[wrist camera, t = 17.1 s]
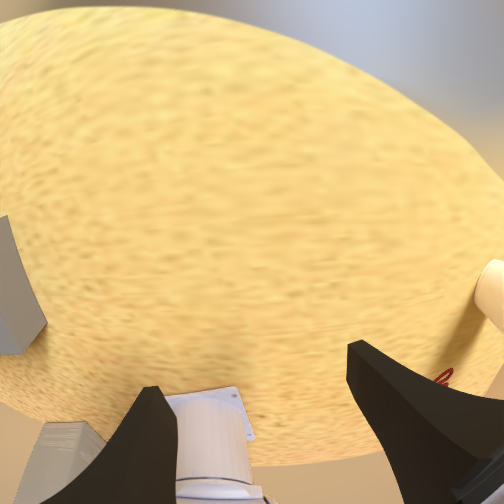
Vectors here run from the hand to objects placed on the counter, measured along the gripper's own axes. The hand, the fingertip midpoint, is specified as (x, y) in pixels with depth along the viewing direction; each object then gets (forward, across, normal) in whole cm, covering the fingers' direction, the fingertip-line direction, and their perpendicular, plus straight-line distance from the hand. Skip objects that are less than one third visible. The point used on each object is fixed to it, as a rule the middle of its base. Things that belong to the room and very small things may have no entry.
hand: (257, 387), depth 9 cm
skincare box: (+10, +24, +17) cm, 31 cm away
